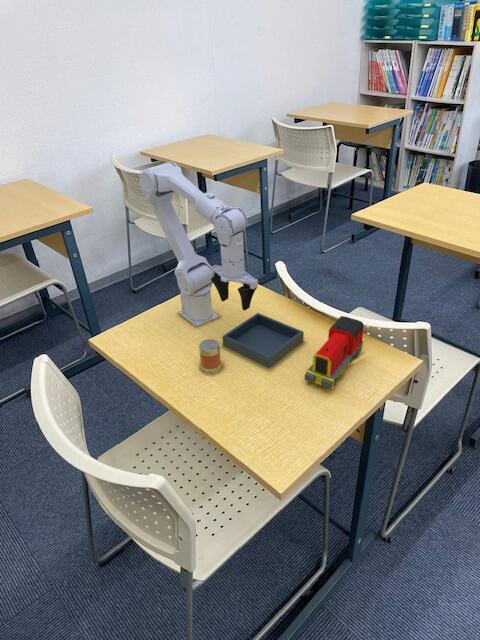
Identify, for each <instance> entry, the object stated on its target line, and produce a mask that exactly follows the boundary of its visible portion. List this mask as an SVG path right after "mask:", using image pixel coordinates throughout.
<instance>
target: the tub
mask: <svg viewBox="0 0 480 640" xmlns="http://www.w3.org/2000/svg"><path fill="white" fill-rule="evenodd" d="M304 333H305V332H304V331H303V330H301V329H298V328H295V327H294V326H291V325H289V324H286V323H284V322H281V321H279V320H276V319H274V318H271V317H269V316H266V315H264V314H261V313H259V312H256V313H255V314H254V315H252V316H251V317H249V318H247V319H246V320H245V321H243V322H242V323H239V324H238V325H237V326H235V327H234V328H233V329H231V330H229V331H227V332H226V333H225V334H223V335H222V346H223V347H224V348H226V349H229V350H231V351H233V352H234V353H238V354H239V355H241V356H243V357H245V358H247V359H249V360H252V361H254V362H255V363H257V364H260V365H261V366H263V367H266V368H267V369H270V368H272V367H274V366H275V364H277V363H278V362H279V361H280V360H282V359H283V358H284V357H286V356H287V355H288V354H289V353H291V352H292V351H293V350H295V349H296V348H297V347H298V346H300V344H303V343H304V335H305V334H304Z"/></svg>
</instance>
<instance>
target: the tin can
mask: <svg viewBox="0 0 480 640" xmlns="http://www.w3.org/2000/svg"><path fill="white" fill-rule="evenodd" d="M220 347H221V346H220V342H219V341H218V340H217V339H213V338H208V339H204V340H202V341H201V342H199V344H198V351H199V360H200V369H201V370H202V371H204V372H206V373H214V372H217V371H219V370H220V369H221V368H222V358H221V348H220Z"/></svg>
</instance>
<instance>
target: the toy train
mask: <svg viewBox="0 0 480 640" xmlns="http://www.w3.org/2000/svg"><path fill="white" fill-rule="evenodd" d="M364 328H365V327H364V322H363V321H361V320H359V319H357V318H356V319H355V318H352V317H348V316H344V315H341V316H339V318H338V319H337V320H336V321H335V322H334V323H333V324H332V326H331V327H330V328H329V329H328V337H327V340H326V341H325V342H324V344H323V345H322V346H321V347H320V348H319V350H318V351H316V353H315V354H314V355H313V356H312V364H311V365H310V367H308V369H307V370H306V371H305V374H304V381H307V382H308V383H312V384H317V385H319V386H321V387H323V388H325V389H328V390H333V389H334V388H335V387H336V385H337V379H339V378H340V377H341V375H342V373H344V371H345V370H346V368H347V367H348V365H349V364H350V363H351V360H352V359H353V357H355V358H358V357H359V355H360V352H362V351H363V347H364V340H363V335H364Z"/></svg>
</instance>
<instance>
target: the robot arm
mask: <svg viewBox="0 0 480 640" xmlns="http://www.w3.org/2000/svg"><path fill="white" fill-rule="evenodd" d="M138 185H139V187H140V190H141V191H142V193H143V195H144V197H145V199H146V201H147V203H148V204H149V205H150V207H151V209H152V211H153V214H154V215H155V217H156V219H157V221H158V223H159V225H160V227H161V230H162V232H163V233H164V235H165V237H166V239H167V241H168V243H169V246H170V247H171V250H172V252H173V253H174V256H175V258H176V260H177V262H178V263H177V266H176V268H175V270H174V275H175V277H176V281H177V287H178V288H179V290H180V293H179V296H180V297H179V298H180V304H181V305H180V306H181V311H179V315H181V316H182V317H183V318H184V319H186V320H187V321H188V322H190V323H191V324H192V325H194V326H199V325H201V324H204V323H206V322H208V321H210V320H213V319H216V318H218V317H219V314H218V313H216V312H215V311H213V303H212V292H211V289H212V288H213V285H214V287H215V288H216V290H217V293H218V295H219V298H220V301H221V302H226V301H227V300H229V294H230V292H229V287H230V286H229V285H230V282H232V283H239V284H242V285H241V286H240V287H238V288H237V292H238V294H239V297H240V300H241V309H242V311H247V310H248V309H250V308H251V303H252V299H253V296H254V294H255V292H256V290H257V289H258V287H259V280H258V279H257V278H255V277H253V276H252V275H250V274H249V273H248V272H247V271H246V270H245V249H244V248H245V247H244V230H246V229H247V227H248V221H249V220H248V217H247V215H246V213H245V211H244V210H242V208H241V207H238V206H235V207H233V206H229V205H228V204H226V203H225V202H224V201H222V200H221V199H219V198H218V197H216V194H215V193H213V192H203V191H202V190H200V189H199V188H198V187H197V186H196V185H195V184H194V183H193V182H192V181H190V180H189V178H187V177H186V176H185V175H184V174H183V170H182V167H181V166H179V165H178V164H176V163H175V162H174V161H171V160H170V161H167V162H165V163H162V164H158V165H156V166H152V167H149V168H144V169H142V170H140V173H139V178H138ZM175 194H177V195H180V196H181V197H183V199H186V200H187V201H189V202H190V203H192V204H193V205H194V209H195V211H196V213H197V214H199V215H200V216H201V217H203V218H204V219H205V220H206V221H208V222H209V223H210V224H212V226H213V230H214V231H215V233H216V235H217V241H218V243H219V245H220V246H219V247H220V259H221V265H218V264H214V265H211V264H210V263H209V262H208V260H207V258H206V257H205V256H202V255H199V254H197V253H196V251H195V249H194V247H193V245H192V243H191V241H190V239H189V237H188V235H187V233H186V231H185V228H184V226H183V223H182V222H181V220H180V218H179V216H178V214H177V212H176V210H175V208H174V206H173V203H172V199H173V196H174V195H175Z"/></svg>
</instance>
